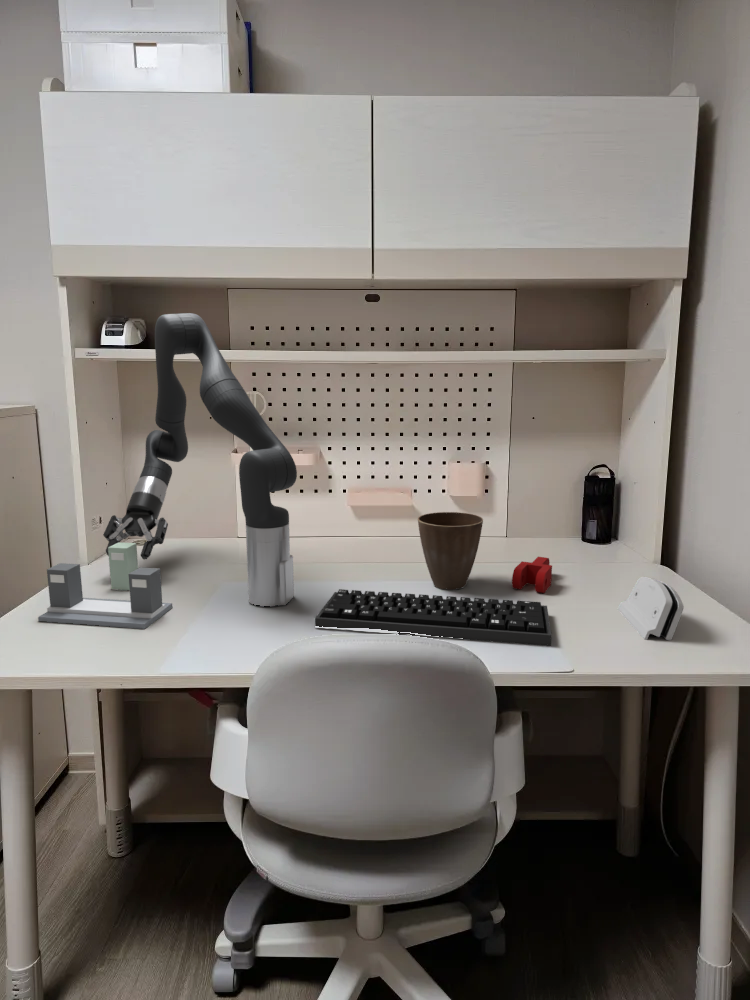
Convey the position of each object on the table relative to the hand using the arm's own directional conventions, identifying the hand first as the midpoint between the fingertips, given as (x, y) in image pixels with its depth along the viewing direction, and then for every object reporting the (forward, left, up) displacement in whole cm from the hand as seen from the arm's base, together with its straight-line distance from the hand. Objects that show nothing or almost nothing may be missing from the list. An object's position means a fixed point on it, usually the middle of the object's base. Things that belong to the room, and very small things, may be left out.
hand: (126, 556), depth 160 cm
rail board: (-6, +18, -7) cm, 20 cm away
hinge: (-115, +5, -7) cm, 115 cm away
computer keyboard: (-73, +11, -8) cm, 74 cm away
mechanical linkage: (-94, -18, -7) cm, 96 cm away
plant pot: (-74, -13, -7) cm, 75 cm away
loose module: (0, +1, -7) cm, 7 cm away
